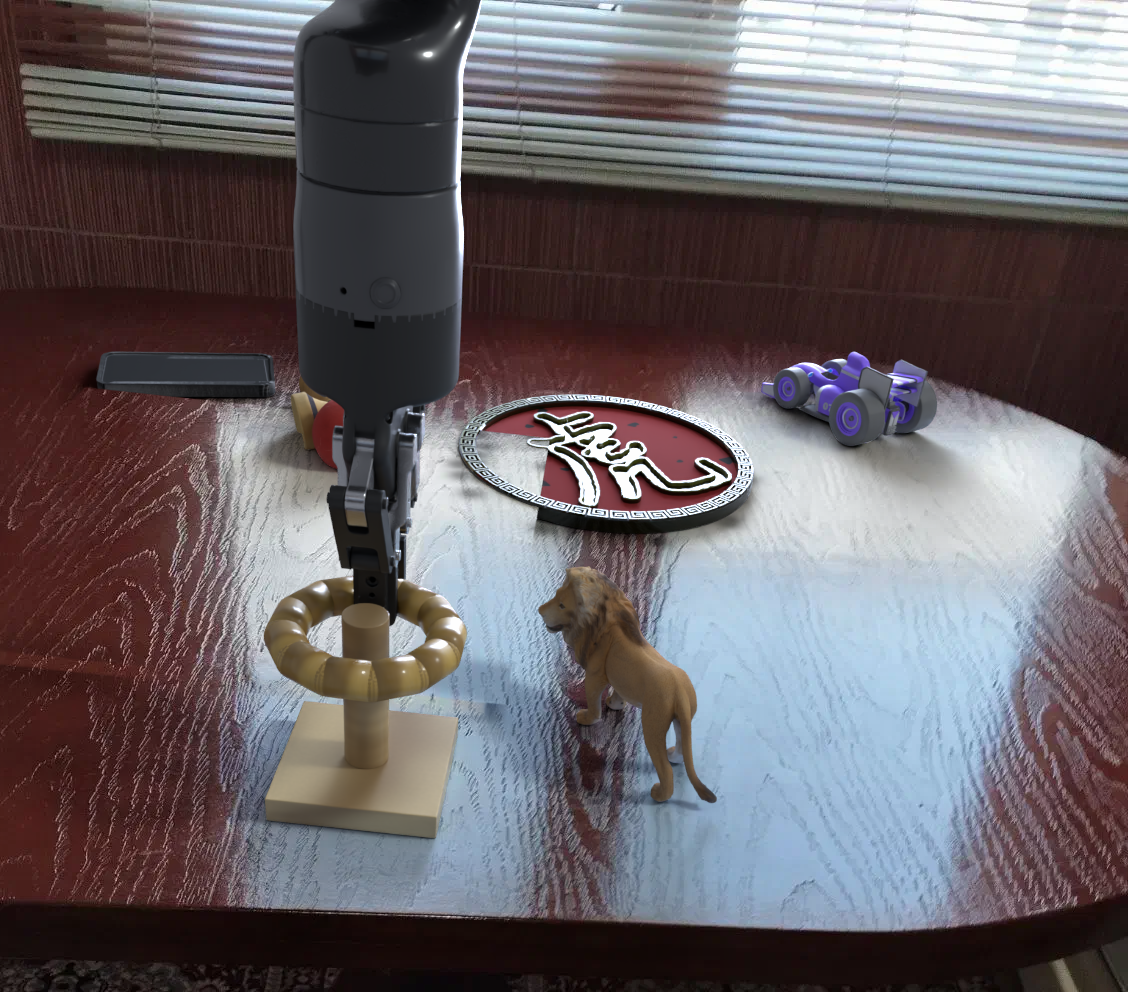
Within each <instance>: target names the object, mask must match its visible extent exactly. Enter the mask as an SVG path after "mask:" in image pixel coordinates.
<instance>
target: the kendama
mask: <svg viewBox="0 0 1128 992" xmlns="http://www.w3.org/2000/svg"><path fill="white" fill-rule="evenodd" d="M298 388H299V391H300V392H296V393H293V394H291V395H290V405H291V411H292V417H293V421H294V426H295V429H296V432H297V433H298V434H301V437H302V442H303V449H304V450H306V451H309V450H310V451H311V450H316V453H317V455H318V456H319V458H320V459H321V460H322V462H323V463H325V464H326V465H327V466H328V467H329V468H332V469H335V470H338V468H337V466H336V464H335V463H334V461H333V458H332V437H333V430H334V427H335V426H343V414H344V409H343V408H342V407H341V406H340V405H339V404H337V403H336V402H334V401H333V400H331V399H329V398H328V397H323V396H321V395H319V394H317V393H316V392H314V391H313V390H311V389H310V388H309V387H308V386H307V385H306V384H305V382H304V381H303V379H302V377H301V375H299V379H298Z"/></svg>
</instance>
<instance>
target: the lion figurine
mask: <svg viewBox="0 0 1128 992" xmlns="http://www.w3.org/2000/svg"><path fill="white" fill-rule="evenodd" d="M565 573H566V574H565V578H564V580H563V582H562V586H560V587H558V588H557V589H556V591H555V595H554V597H552V598H551V599H549V600H548V601H547V602H546V601H545V602H544V603H542V604H541V605H539V606H538V608H537V612H538V614H539V616H541V619H542V621H543V623H544V624H545V629H546V631H547V633H548V634H552V635H553V634H557V633H559V632H561V635H562V639H563V642H564V643H566V644H567V645H568V646H570V647H571V648H572V649H573V653H574V659H575V662H576V663H577V664H578V665H579V666H580V667H581V669H582V670H584V671H585V672H584V691H585V698H586V703H587V708H586V709H585V708H582V709H580V710H578V712H577V713H576V715H575V718H576V722H577V724H580V725H583V726H592V725H595V724H597V723H598V722H600V720H601V718H602V712H603V711H602V697H603V693H604V692H605V691H606V689H607V687H608V686H609V685H610V686H611V687H612V688H613V690H612V694H611V695H609V696H607V697H606V699H605V704H606V706H607V707H608V708H610V709H612V710H623V709H624V708H625V707H626V706H627V703H628V704H630V705H631V706H633V707H634V708H636V709H639V710H641V712H640V713H641V715H640V720H641V721H640V722H641V727H642V736H643V742H644V745H645V748H646V750H647V753H648V755H649V757H650V760H651V763H652V764H653V767H654V769H655V772H656V775H657V777H658V781H659V782H655V783H654V784H653V785H652V787H651V788H650V797H651V799H653V801H655V802H658V803H663V802H666V801H668V800H670V799H671V798H672V797H673V796H674V790H675V782H674V781H675V780H674V769H673V767H672V765H671V763H674V764H683V765H684V769H685V773H686V776H687V779H688V780H689V783H690V784H691V785H692V787H693V789H694V790H695V792H696V794H697V795H698V797H699V798H700V800H701V801H705V802H706V803H709V804H714V803H717V802H718V797H717V796H716V794H714V792H713V791H712V790H711V789H710V788H708V787H707V785H706V784H704V783H703V782H702V780H700V778H699V777H698V775H697V772H696V770H695V765H694V757H693V744H692V743H693V742H692V741H693V740H692V736H693V735H692V721H693V719H694V717H695V716H696V713H697V711H698V699H697V697H698V696H697V693H696V689H695V687H694V684H693V683H692V681H691V678H690V676H689V674H688V673H687V672H686V671H685V669H683V668H681V667H680V666H677V665H675V664H673V663H672V662H671V661H669V660H667V659H666V658H665V657H663V655H661V653H660V652H659V651H658V650H657V649H656V648H655V647H654V646H653V645H652V644H651V643H650V642H649V641H648V640H647V639H646V638H645V636H644V635H643V632H642V629H641V622H640V616H639V614H638V613H637V610H636V608H635V607H634V606H633V602H632V601H631V600H629V599H628V597H627V596H626V595H625V592H624V591H623V589H620V587H619V586H618V584H617V583H616V582H614V581H613V580H612V578H608V576H607V575H606V574H605V573H603V572H601V571H599V570H598V569H596V568H591V566H589V565H588V566H578V567H576V566H573V567H570V568H567V567H565ZM671 725H672V727H673V730H674V734H675V745H674V746H670V747H667V734H668V732H669V731H670V729H671ZM670 762H671V763H670Z"/></svg>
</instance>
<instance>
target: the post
mask: <svg viewBox="0 0 1128 992" xmlns="http://www.w3.org/2000/svg"><path fill="white" fill-rule="evenodd" d="M340 618H341V620H340V621H341V657H343V658H351V659H359V660H367V661H373V660H379V659H385V658H390V626H389V625H390V616H389V613H388V611H387V610H386V609H385V608H383V607H381V606H379V605H376V604H370V603H360V604H354V605H351V606H349V607H347V608H346V609H344V611H343V612H342V615H341V616H340ZM342 703H343V704H337V703H327V702H318V701H309V700H304V701H303V702H302V705H301V707H300V710H299V712H298V715H297V718H296V720H295V722H294V725H293V727H292V730H291V732H290V734H289V737H288V739H287V743H286V744H285V747H284V750H283V753H282V755H281V758H280V760H279V762H278V765H277V767H276V770H275V772H274V775H273V777H272V780H271V783H270V785H269V787H268V790H267V792H266V795H265V798H264V809H265V819H266V821H270V822H276V823H277V822H279V823H280V822H281V823H289V824H298V825H307V826H316V827H325V828H335V829H344V830H351V831H352V830H354V831H362V832H372V833H381V834H391V835H401V836H408V837H409V836H411V837H418V838H426V839H427V838H429V839H436V838H437V836H438V831H439V826H440V823H441V817H442V813H443V808H444V803H445V798H446V794H447V789H448V784H449V779H450V774H451V772H452V771H451V770H452V765H453V761H454V756H455V751H456V747H457V743H458V737H459V717H458V716H448V715H439V714H429V713H421V712H420V713H419V712H411V711H402V710H393V709H390V699H389V700H384V701H378V702H363V701H355V700H347V699H342Z"/></svg>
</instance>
